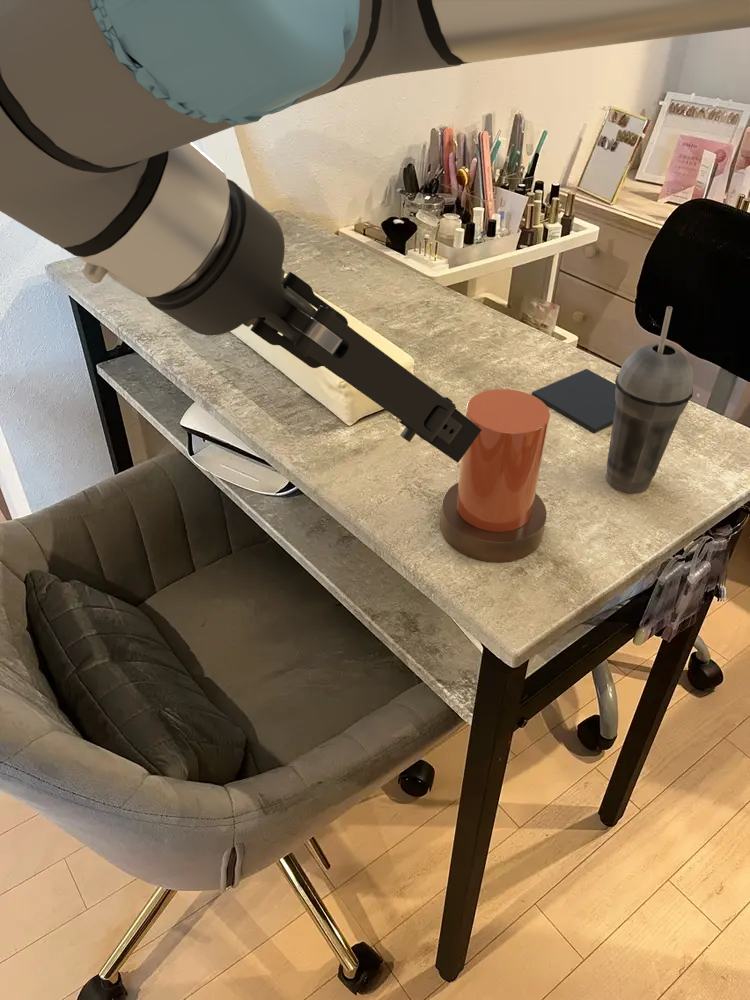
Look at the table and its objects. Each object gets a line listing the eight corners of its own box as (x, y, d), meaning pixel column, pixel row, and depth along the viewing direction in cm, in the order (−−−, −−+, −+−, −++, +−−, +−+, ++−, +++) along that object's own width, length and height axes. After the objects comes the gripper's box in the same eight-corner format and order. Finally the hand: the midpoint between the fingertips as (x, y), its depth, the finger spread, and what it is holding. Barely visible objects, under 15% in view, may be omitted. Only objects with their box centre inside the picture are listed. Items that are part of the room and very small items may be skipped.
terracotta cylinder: (547, 512, 73) (567, 415, 66) (492, 542, 70) (507, 443, 63) (495, 475, 78) (508, 380, 71) (441, 502, 74) (449, 404, 67)
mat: (649, 406, 93) (650, 402, 92) (594, 433, 88) (595, 429, 88) (585, 372, 99) (586, 368, 99) (531, 396, 94) (531, 391, 94)
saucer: (564, 534, 74) (568, 515, 73) (489, 577, 70) (492, 557, 68) (492, 483, 81) (495, 464, 79) (419, 519, 76) (420, 500, 74)
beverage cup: (676, 482, 81) (735, 305, 69) (638, 511, 77) (692, 329, 65) (617, 452, 85) (662, 280, 73) (578, 478, 81) (618, 301, 69)
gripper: (57, 227, 47) (282, 372, 63) (268, 405, 32) (491, 534, 48) (124, 121, 46) (334, 295, 63) (373, 251, 31) (563, 437, 47)
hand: (403, 400), depth 55 cm, fingers open, 13 cm apart
